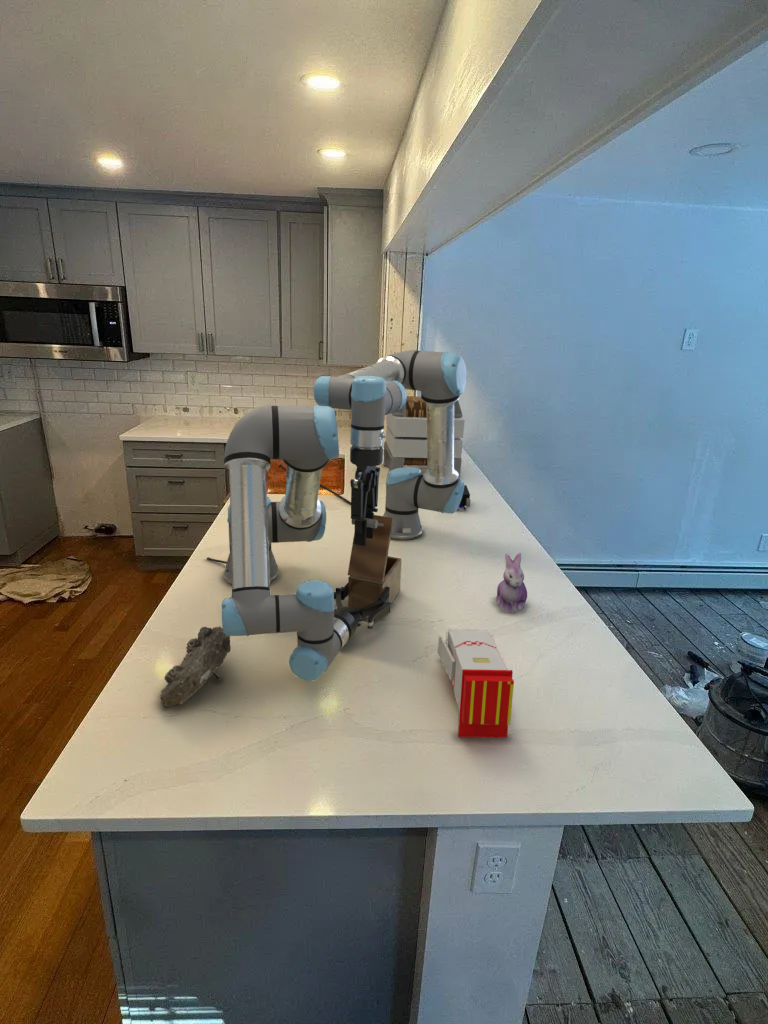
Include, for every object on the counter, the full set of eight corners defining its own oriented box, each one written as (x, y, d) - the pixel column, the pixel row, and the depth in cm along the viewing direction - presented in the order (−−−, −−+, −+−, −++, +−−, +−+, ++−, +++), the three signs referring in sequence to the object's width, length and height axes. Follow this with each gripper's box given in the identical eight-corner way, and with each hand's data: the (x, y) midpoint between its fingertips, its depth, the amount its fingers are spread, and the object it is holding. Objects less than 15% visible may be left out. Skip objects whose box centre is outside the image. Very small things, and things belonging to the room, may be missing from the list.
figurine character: (470, 515, 225) (465, 499, 238) (472, 498, 221) (467, 483, 235) (453, 515, 224) (449, 499, 238) (455, 497, 221) (451, 482, 234)
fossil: (184, 629, 128) (231, 598, 123) (214, 657, 131) (261, 628, 126) (138, 700, 109) (191, 667, 104) (173, 731, 112) (227, 701, 107)
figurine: (509, 617, 148) (516, 565, 143) (485, 599, 156) (491, 550, 151) (537, 610, 152) (544, 559, 147) (512, 593, 161) (519, 544, 156)
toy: (488, 613, 130) (523, 677, 101) (484, 667, 133) (517, 744, 104) (435, 612, 130) (455, 676, 101) (432, 666, 133) (451, 743, 103)
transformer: (382, 463, 289) (386, 382, 275) (445, 464, 293) (451, 384, 279) (390, 482, 257) (394, 392, 243) (460, 483, 261) (468, 394, 247)
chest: (369, 584, 161) (369, 552, 158) (400, 590, 159) (401, 558, 155) (348, 611, 148) (348, 577, 144) (381, 618, 145) (382, 584, 141)
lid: (359, 512, 145) (346, 510, 136) (393, 518, 142) (383, 516, 133) (349, 574, 144) (335, 576, 136) (383, 581, 142) (372, 583, 133)
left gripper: (291, 634, 132) (330, 592, 152) (380, 655, 125) (409, 609, 145) (290, 606, 129) (331, 567, 149) (381, 626, 123) (411, 582, 143)
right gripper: (368, 456, 120) (365, 556, 128) (394, 440, 136) (389, 531, 144) (336, 452, 123) (335, 551, 131) (365, 437, 138) (362, 526, 146)
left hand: (369, 588), depth 147 cm, fingers closed on chest, 9 cm apart
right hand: (363, 540), depth 137 cm, fingers open, 4 cm apart
